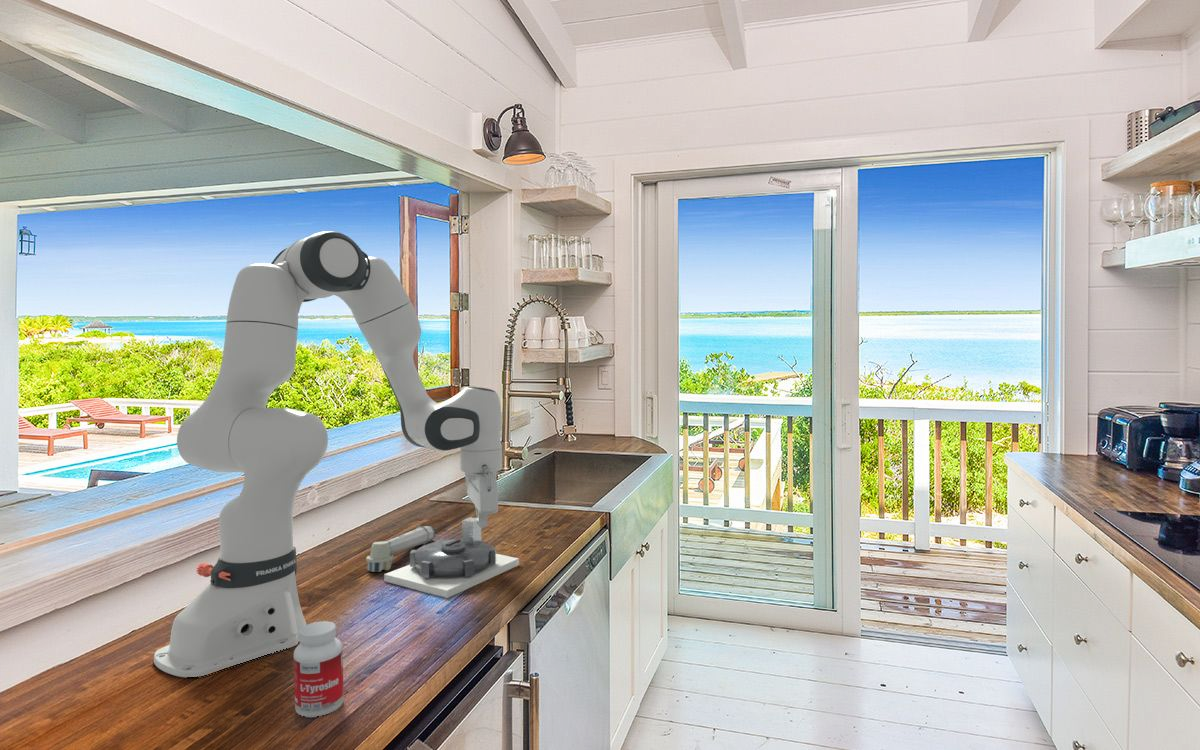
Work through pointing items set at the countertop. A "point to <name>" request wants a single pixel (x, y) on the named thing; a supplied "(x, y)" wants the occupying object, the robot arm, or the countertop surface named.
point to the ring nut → (455, 554)
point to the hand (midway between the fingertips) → (482, 525)
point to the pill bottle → (318, 670)
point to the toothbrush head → (397, 547)
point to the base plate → (448, 578)
